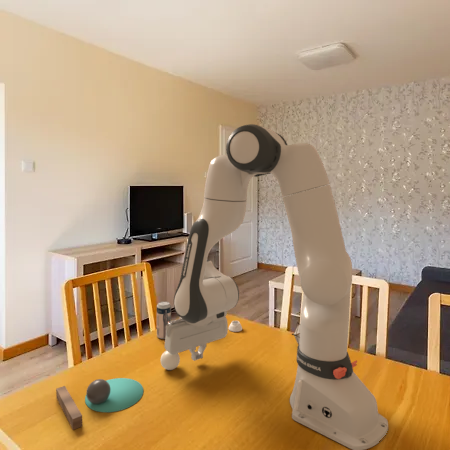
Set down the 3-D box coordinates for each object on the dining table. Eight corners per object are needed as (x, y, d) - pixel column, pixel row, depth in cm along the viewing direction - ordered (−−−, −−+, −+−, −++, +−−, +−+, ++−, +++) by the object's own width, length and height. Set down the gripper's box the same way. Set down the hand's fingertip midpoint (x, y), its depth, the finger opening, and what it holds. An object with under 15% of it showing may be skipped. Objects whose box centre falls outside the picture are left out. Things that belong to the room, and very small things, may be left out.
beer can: (167, 340, 119) (167, 306, 117) (154, 339, 120) (154, 305, 118) (172, 334, 123) (172, 301, 122) (160, 333, 124) (159, 300, 123)
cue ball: (160, 352, 98) (166, 372, 96) (178, 345, 101) (184, 364, 99) (155, 354, 102) (161, 373, 101) (173, 348, 105) (179, 366, 104)
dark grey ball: (109, 408, 84) (117, 385, 85) (87, 408, 81) (95, 384, 81) (101, 397, 88) (108, 376, 89) (79, 397, 85) (88, 374, 86)
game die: (307, 360, 115) (313, 345, 108) (285, 344, 119) (289, 329, 112) (320, 340, 120) (326, 324, 113) (298, 326, 124) (303, 310, 117)
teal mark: (153, 397, 87) (152, 396, 87) (96, 420, 79) (96, 419, 79) (129, 373, 98) (129, 372, 98) (77, 390, 89) (77, 390, 89)
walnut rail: (82, 426, 77) (82, 415, 76) (72, 429, 76) (72, 419, 75) (65, 395, 88) (64, 385, 87) (56, 398, 86) (56, 388, 86)
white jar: (225, 329, 129) (234, 333, 125) (226, 321, 129) (234, 326, 125) (236, 326, 132) (244, 330, 128) (236, 318, 132) (245, 323, 128)
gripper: (171, 325, 93) (171, 374, 95) (231, 309, 106) (230, 353, 108) (160, 318, 98) (160, 365, 100) (218, 303, 111) (217, 345, 112)
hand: (197, 358), depth 104 cm, fingers closed
